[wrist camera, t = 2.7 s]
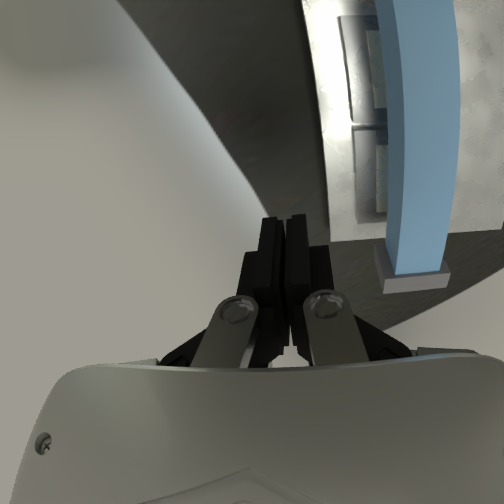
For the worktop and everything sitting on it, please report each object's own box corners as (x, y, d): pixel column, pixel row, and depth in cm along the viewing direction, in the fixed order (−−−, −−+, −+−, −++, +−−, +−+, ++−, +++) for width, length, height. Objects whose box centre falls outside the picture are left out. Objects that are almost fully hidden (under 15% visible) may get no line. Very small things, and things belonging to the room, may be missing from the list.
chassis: (293, -27, 14) (294, -44, 11) (500, -7, 11) (535, -7, 7) (328, 227, 26) (333, 263, 23) (491, 216, 23) (514, 247, 19)
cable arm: (347, -54, 9) (362, -77, 6) (424, -47, 9) (456, -62, 5) (372, 254, 21) (383, 296, 18) (429, 250, 20) (447, 289, 17)
